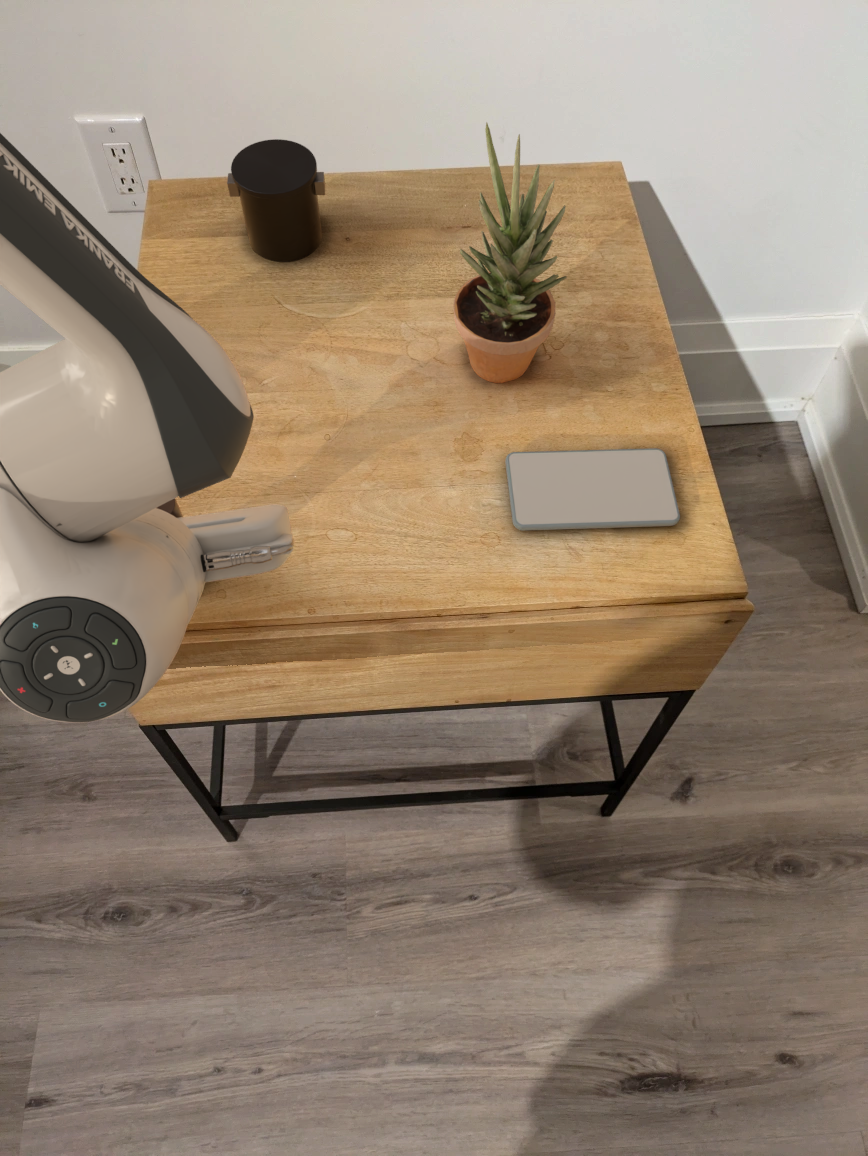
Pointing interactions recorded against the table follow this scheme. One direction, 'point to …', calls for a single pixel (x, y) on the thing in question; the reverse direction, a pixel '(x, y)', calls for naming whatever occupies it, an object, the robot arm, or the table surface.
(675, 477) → the table surface
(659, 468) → the smartphone
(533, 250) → the potted plant
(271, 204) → the black cooking pot
